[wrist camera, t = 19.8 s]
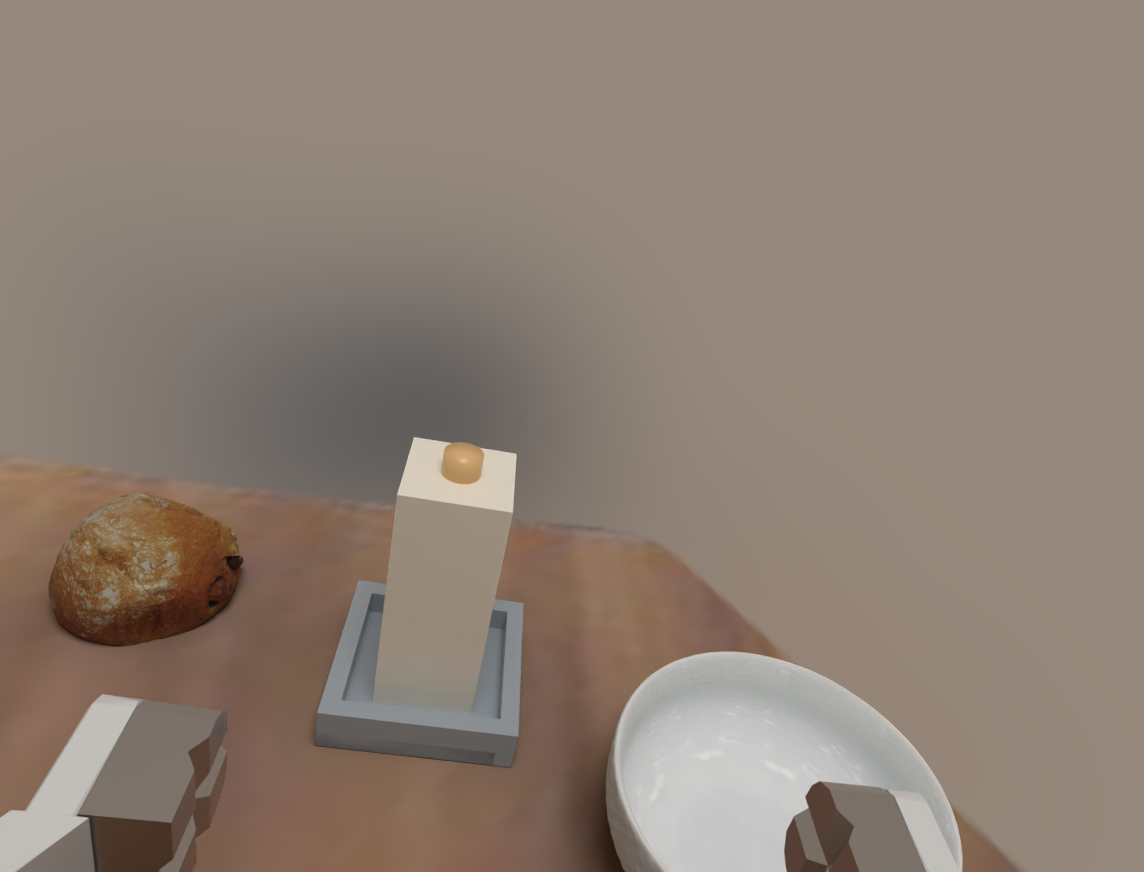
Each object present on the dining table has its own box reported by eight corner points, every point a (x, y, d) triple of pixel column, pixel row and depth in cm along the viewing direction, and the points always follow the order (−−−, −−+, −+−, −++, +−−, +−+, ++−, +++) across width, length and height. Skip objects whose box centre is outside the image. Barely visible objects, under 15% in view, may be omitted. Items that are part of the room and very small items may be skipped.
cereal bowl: (716, 691, 52) (750, 609, 48) (957, 899, 42) (1020, 815, 39) (516, 828, 40) (541, 734, 37) (783, 1155, 31) (850, 1068, 28)
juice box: (372, 701, 44) (399, 473, 37) (389, 631, 49) (416, 417, 42) (470, 713, 45) (517, 492, 38) (478, 643, 50) (520, 434, 42)
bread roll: (107, 584, 54) (34, 498, 49) (255, 527, 55) (199, 438, 50) (83, 699, 46) (-6, 609, 41) (257, 628, 47) (190, 534, 43)
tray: (314, 745, 42) (317, 712, 41) (355, 610, 51) (358, 580, 50) (510, 767, 43) (518, 736, 42) (516, 631, 53) (523, 603, 51)
